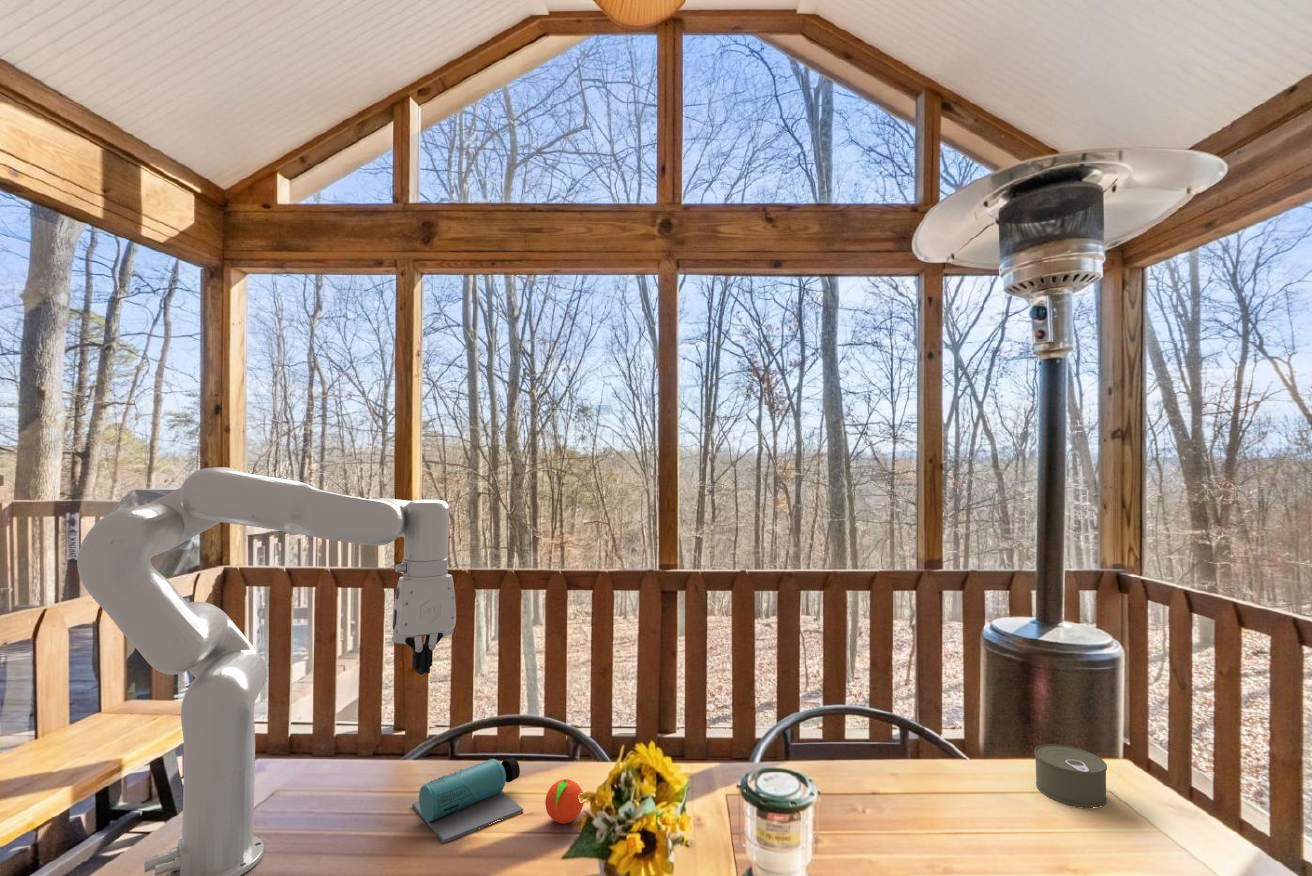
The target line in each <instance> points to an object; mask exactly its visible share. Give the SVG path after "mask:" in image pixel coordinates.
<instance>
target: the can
mask: <svg viewBox="0 0 1312 876" xmlns="http://www.w3.org/2000/svg"><path fill="white" fill-rule="evenodd" d="M1034 756H1035V757H1034V758H1035V779H1036V783H1035V786H1036V789H1037V790H1038V791H1039V792H1040V793H1041V794H1042V795H1043V796H1045V797H1046V798H1048V799H1050V800H1052V801H1054V802H1057V803H1059V804H1063V805H1066V806H1069V807H1073V806H1075V807H1074V808H1078V807H1083V808H1082V809H1087V808H1093V807H1100V806H1103V807H1105V805H1106V804H1107V770H1108V765H1107V763H1106V762H1105V760H1103V759H1102V758H1101V757H1099V756H1098V755H1096V754H1094V753H1092V752H1089V751H1087V750H1084V749H1081V748H1077V747H1074V746H1069V745H1063V744H1055V743H1054V744H1053V743H1051V744H1050V743H1048V744H1041V745H1038V746H1037V747H1035V748H1034ZM1100 808H1101V807H1100Z"/></svg>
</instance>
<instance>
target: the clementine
mask: <svg viewBox="0 0 1312 876" xmlns="http://www.w3.org/2000/svg"><path fill="white" fill-rule="evenodd" d="M580 793H583V789H582V787H580V785H579V784H578V783H577V782H576V781H574V780H573V779H568V778H566V779H565V778H563V779H560V780H557V781H556V782H554V783H553V784H552V785H551V786H550V788H549V789H548V791H547V793H546V796H545V802H544V803H545V810H546V812H547V814H548V816H549V817H550V818H551V819H552V820H553V821H555V822H556V823H558V824H569V823H571V822H573V821H574V820H575V819H577V818H578V816H579V815H580V814H581V812H582V810H583V807H584V803H585V802H584V803H580V802H579V799H578V795H579V794H580ZM583 794H584V793H583Z"/></svg>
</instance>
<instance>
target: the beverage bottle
mask: <svg viewBox="0 0 1312 876" xmlns="http://www.w3.org/2000/svg"><path fill="white" fill-rule="evenodd" d="M520 773H521V770H520V764H519V763H518V760H517V759H516V758H514V757H511V758H506V759H504V760H502V762H500V761H499V760H497V759H495V758H490V759H488V760H485V761H484V762H481V763H477V764H475V765H473V766H469V767H467V768H465V769H460V770H458V771H455V772H454V773H449V774H447V775H443V776H441V777H438V778H436V779H433V780H431V781H428V782H426V783H424V784H423V785H422V786H421V788H420V789H419V794H418V800H419V804H420V809H421V812H422V815H423V817H424V818H425V820H426V821H433V822H434V821H435V820H436V819H438V820H439V818H443V817H444V816H445V817H446V816H447V815H450V814H452V813H454V812H456V811H458V810H461V809H465V807H466V808H467V807H469V806H470V805H472V804H474V803H477V802H479V801H481V800H483V799H485V798H488V797H490V796H492V795H495V794H498V793H500V792H501V791H503V790H504V788H505V785H506V783H511V782H513V781H515V780H516V779H518V778H519V777H520Z"/></svg>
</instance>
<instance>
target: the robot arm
mask: <svg viewBox="0 0 1312 876" xmlns="http://www.w3.org/2000/svg"><path fill="white" fill-rule="evenodd" d="M220 523H224V524H225V523H226V524H232V525H239V526H246V527H247V526H248V527H252V528H253V527H254V528H261V529H267V530H272V531H273V530H274V531H279V532H280V531H281V532H286V533H289V534H290V533H291V534H295V535H299V536H300V535H302V536H308V537H313V538H319V539H323V540H324V539H325V540H330V541H337V542H342V543H350V544H354V545H355V544H357V545H364V546H372V547H373V546H374V547H379V546H385V545H388V544H391V543H392V542H394V541H396V539H398V538H401V537H403V539H404V541H403V545H404V546H403V559H402V562H401V563H399V564H398V563H397V564H395V567H394V571H395V572H396V573H401V574H402V576H400V577H399V578H398V582H397V586H396V591H395V595H394V600H393V611H392V619H391V620H392V622H391V623H392V626H391V627H392V630H393V633H392V637H391V641H392V642H393V643H394V644H401V645H402V644H403V645H407V646H409V648H410V649H412V669H413V670H414V671H415V672H416V673H418V675H424V674H427V675H428V674H430V672H431V667H432V666H433V658H434V657H433V653H434V652H433V651H434V650H436V647H437V645H438V643H440V642H441V640H442V639H444V638H446V637H448V636H450V635H451V636H452V635H453V634H454V628H455V626H456V624H457V623H456V622H457V607H456V605H457V604H456V593H455V586H454V585H455V584H454V579H453V575H452V574H449V573H448V570H449V569H448V567H449V563H448V562H449V538H450V537H449V535H450V533H449V531H450V505H449V504H448V502H447V501H445V500H441V499H433V498H432V499H431V498H430V499H413V500H404V499H395V498H388V497H387V498H386V497H379V498H375V499H369V498H362V497H359V496H358V497H357V496H352V495H351V496H350V495H343V494H339V493H335V492H329V491H326V490H323V489H320V488H316V487H314V486H312V485H311V484H309V483H305V482H302V481H298V480H293V479H292V480H291V479H286V478H285V479H284V478H280V477H272V476H267V475H261V474H255V473H249V472H245V471H240V470H239V469H235V468H231V467H225V466H223V467H222V466H220V467H219V466H218V467H205V468H202V469H199V470H196V471H194V472H193V473H191V474H190V475H188V476H187V478H186V479H185V480H184V481H183V483H182V484H181V486H180V487H178V488H177V489H175V490H173V491H171V492H169V493H167V494H165V495H163V496H161V497H159V498H157V499H155V500H153V501H151V502H148V503H146V504H142V505H141V504H140V505H135V506H134V505H133V506H127V507H124V508H120V509H118V510H115V511H113V512H110V513H109V514H107V515H105V516H103V517H102V518H101V519H100V520H98V521H97V522H96V523H95V524H94V525H93V526H92V527H91V528H90V530H89V531H88V532H87V534H86V535H85V537H84V538H83V540H82V542H81V545H80V546H79V550H78V552H77V553H78V554H77V561H76V562H77V564H76V567H77V572H78V577H79V578H80V580H81V583H82V585H83V586H84V588H85V590H86V591H87V592H88V593H89V595H90V596H91V597H92V599H93V600H94V601H95V602H96V603H97V604H98V605H99V606H100V608H101V609H102V610H103V611H104V612H105V613H106V614H107V616H108V617H109V618H110V619H111V620H112V621H113V623H114V624H115V625H116V626H117V628H118V629H119V631H120V632H121V633H122V634H123V635H124V636H125V637H126V639H127V640H128V641H129V642H130V643H131V645H133V647H134V648H135V649H136V650H137V651H138V653H140V655H141V656H142V657H143V659H144V660H145V661H146V662H147V664H148V665H150V666H151V667H152V668H153V669H154V670H156V671H157V672H159V673H161V674H165V675H172V676H174V675H179V674H180V675H181V674H183V673H186V672H188V671H189V673H190V674H191V675H192V676H193V677H194V679H193V680H192V682H191V683H190V685H189V686H188V688H187V689H186V691H185V694H184V696H183V699H182V703H181V709H180V720H181V729H182V730H181V731H182V738H183V739H182V740H183V791H182V792H183V793H182V827H181V828H182V829H181V831H182V834H181V838H179V839H178V840H177V846H175V847H173V848H170V849H169V851H167V852H164V853H160V854H155V855H152V856H150V857H146V858H144V860H143V863H144V864H143V869H144V870H143V873H144V874H146V873H148V872H152V871H154V876H159V875H162V874H165V873H167V872H168V876H242V875H243V874H245V873H247V872H248V871H250V870H251V869H253V868H254V867H255V866H256V865H257V864H258V863H259V862H260V860H261V859H262V858H263V855H264V852H265V845H264V844H265V843H264V841H263V839H261V838H259V837H257V836H255V835H254V826H255V825H254V824H255V823H254V821H255V820H254V819H255V817H254V816H255V781H256V779H255V778H256V777H255V775H256V772H255V771H256V770H255V769H256V728H255V726H256V725H255V705H256V704H255V703H256V700H257V699H258V697H259V694H260V693H261V691H262V690H263V688H264V686H265V683H266V681H267V677H268V673H267V672H268V671H267V665H266V663H265V661H264V658H263V657H262V655H261V654H260V653H259V652H258V650H257V649H256V647H254V645H253V644H252V643H251V642H250V641H249V639H248V638H247V637H246V636H245V634H244V633H243V632H242V631H241V630H240V628H239V627H238V626H237V625H236V624H235V622H234V621H233V620H232V618H230V617H229V616H228V614H227V613H225V611H224V610H222V608H219V607H218V606H216V605H214V604H213V603H210V602H205V601H190V602H187V601H186V599H185V598H183V596H182V595H181V594H180V593H179V591H178V590H177V589H176V588H175V586H174V585H173V584H172V582H171V581H170V580H169V579H167V578H166V577H165V576H164V575H163V574H162V573H160V572H159V571H158V569H156V568H155V567H154V566H153V564H152V561H151V560H152V558H153V557H155V556H157V555H160V554H163V553H166V552H168V551H171V550H172V549H174V548H176V547H179V545H180V546H181V545H182V544H183V543H185V542H186V541H188V540H190V539H193V538H194V537H196V536H198V535H200V534H202V533H203V532H205V531H208V530H209V529H211V528H213V527H215V526H217V525H218V524H220ZM422 636H424V638H423V639H424V640H422ZM422 641H423V642H422Z"/></svg>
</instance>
